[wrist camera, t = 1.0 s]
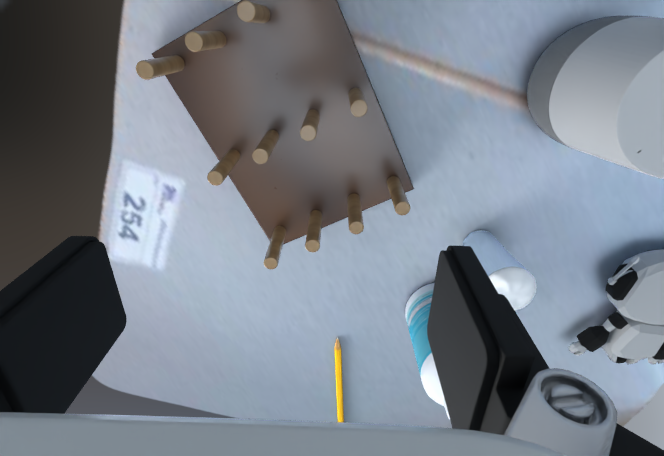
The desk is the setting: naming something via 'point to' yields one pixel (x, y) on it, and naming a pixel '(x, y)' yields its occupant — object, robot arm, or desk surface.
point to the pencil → (339, 381)
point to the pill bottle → (424, 341)
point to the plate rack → (287, 116)
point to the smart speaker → (605, 91)
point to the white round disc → (631, 313)
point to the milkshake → (503, 269)
